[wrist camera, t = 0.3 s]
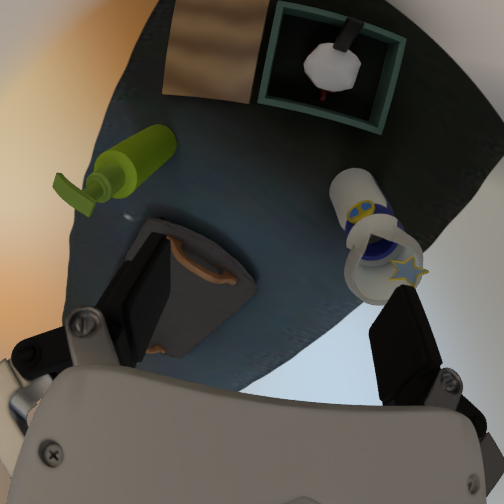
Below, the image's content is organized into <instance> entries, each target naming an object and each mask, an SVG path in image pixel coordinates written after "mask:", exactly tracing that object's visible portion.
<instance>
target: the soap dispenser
mask: <svg viewBox="0 0 504 504" xmlns="http://www.w3.org/2000/svg"><path fill="white" fill-rule="evenodd" d="M176 147H177V141H176V137H175V135H174V133H173V132H172V130H171V129H169V128H168V127H166V126H164V125H160V124H157V125H152V126H150V127H148V128H146V129H144V130H142V131H140V132H138V133H137V134H135V135H133V136H131V137H129V138H128V139H126V140H124V141H122V142H120V143H119V144H117V145H115V146H114V147H112V148H110V149H109V150H107V151H105V152H104V153H102V154H101V155H100V156H99V157H98V158H97V160H96V162H95V165H94V172H93V173H92V174H91V175H89V177H88V178H87V180H86V188H85V189H84V190H83V191H82V190H80V189H79V188H77V187H76V186H75V185H73V184H72V183H71V182H70V181H68V180H67V179H66V178H65V177H64V175H63V174H62V173H56V176H55V180H54V183H53V188H54V189H55V191H56V192H57V194H58V195H59V196H60V197H61V198H62V199H63V200H64V201H66V202H67V203H68V204H69V205H71V206H72V207H73V208H75V209H76V210H78V211H79V212H81V213H82V214H84V215H86V216H87V217H90V216H91V215H92V213H93V210H94V208H95V205H96V203H97V202H100V203H103V202H106V201H108V200H109V199H110V198H111V197H113V198H118V199H120V198H125V197H127V196H129V195H130V194H131V193H132V192H134V191H135V190H136V189H137V188H138V187H139V186H140V185H141V184H142V183H143V182H144V181H145V180H146V179H147V178H148V177H149V176H150V175H152V174H153V173H154V172H155V171H156V170H157V169H158V168H159V167H160V166H162V165H163V164H164V163H165V162H166V161H167V160H168V159H169V158H171V157H172V156H173V154H174V153H175V151H176Z"/></svg>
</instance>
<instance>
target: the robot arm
mask: <svg viewBox="0 0 504 504" xmlns="http://www.w3.org/2000/svg"><path fill="white" fill-rule="evenodd" d="M170 291H171V241H170V239H167V236H166V235H165V234H161V233H156V232H151V233H150V235H149V236H148V238H147V239H146V240H145V242H144V243H143V245H142V246H141V248H140V249H139V251H138V252H137V253H136V255H135V256H134V258H133V259H132V261H130V260H127V261H125V262H124V263H123V265H122V266H121V268H120V269H119V271H118V272H117V273H116V275H115V276H114V278H113V279H112V281H111V283H110V284H109V286H108V287H107V289H106V290H105V292H104V293H103V295H102V296H101V298H100V300H99V301H98V303H97V304H96V306H95V307H93V306H80V307H78V308H75V309H74V310H72V311H71V312H70V313H69V314H68V316H67V318H66V320H65V326H62V327H59V328H56V329H53V330H51V331H48V332H45V333H42V334H39V335H36V336H33V337H30V338H27V339H24V340H22V341H20V342H19V343H18V344H17V345H16V346H15V347H14V349H13V351H12V355H11V358H10V359H9V360H7V359H6V358H5V359H3V360H2V361H1V362H0V462H1V463H2V465H3V467H4V469H5V470H6V472H7V473H8V475H9V476H10V478H11V484H10V488H9V493H8V497H7V503H6V504H486V497H487V496H488V495H489V493H490V492H491V490H492V489H493V488H494V486H495V485H496V483H497V482H498V481H499V479H500V478H501V476H502V475H503V473H504V457H503V456H502V453H501V452H500V450H499V448H498V446H497V445H496V443H495V441H494V440H493V438H492V436H491V435H490V433H489V432H488V433H486V430H487V422H486V419H485V417H484V415H483V414H482V413H481V412H480V411H479V410H478V409H477V408H476V407H475V406H474V405H473V404H472V403H471V402H470V401H469V400H467V399H466V398H465V397H464V396H463V395H462V390H463V383H462V380H461V378H460V376H459V375H458V374H457V372H455V371H454V370H453V369H450V368H443V369H441V368H440V365H441V364H442V363H443V362H442V359H441V356H440V353H439V350H438V347H437V344H436V342H435V338H434V336H433V333H432V330H431V327H430V324H429V322H428V319H427V317H426V314H425V311H424V309H423V306H422V304H421V301H420V299H419V297H418V294H417V292H416V289H415V288H414V287H413V286H409V285H404V284H401V285H400V286H399V287H396V288H395V290H394V292H393V293H392V295H391V296H390V298H389V300H388V301H387V303H386V304H385V306H384V308H383V309H382V311H381V312H380V314H379V315H378V317H377V318H376V320H375V321H374V323H373V324H372V326H371V327H370V329H369V339H370V344H371V350H372V355H373V361H374V367H375V373H376V379H377V385H378V392H379V398H380V400H381V401H382V403H383V406H366V405H343V404H329V403H316V402H306V401H296V400H288V399H280V398H272V397H266V396H259V395H252V394H247V393H241V392H236V391H230V390H225V389H220V388H215V387H210V386H206V385H201V384H197V383H192V382H188V381H184V380H179V379H175V378H171V377H167V376H163V375H160V374H156V373H152V372H148V371H143V370H139V369H135V366H136V364H137V362H140V363H141V362H142V360H143V358H144V355H145V353H146V350H147V348H148V345H149V343H150V341H151V338H152V336H153V333H154V331H155V329H156V326H157V324H158V322H159V319H160V317H161V315H162V312H163V310H164V308H165V305H166V303H167V301H168V299H169V296H170ZM127 366H128V367H127ZM41 398H42V399H41ZM40 399H41V401H40V403H39V405H38V407H37V409H36V411H35V413H34V416H33V418H32V421H31V423H30V425H29V427H28V424H27V416H28V413H29V411H30V410H31V409H32V408H33V407H35V406H36V405H37V403H36V402H37V401H38V400H40Z"/></svg>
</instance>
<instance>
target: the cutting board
mask: <svg viewBox="0 0 504 504" xmlns="http://www.w3.org/2000/svg"><path fill="white" fill-rule="evenodd" d="M269 6H270V0H176V3H175V8H174V14H173V19H172V25H171V30H170V37H169V43H168V50H167V57H166V64H165V72H164V81H163V90H162V94H167V95H181V96H192V97H202V98H211V99H219V100H226V101H233V102H240V103H246V104H249V103H250V102H251V97H252V92H253V86H254V81H255V75H256V70H257V65H258V60H259V55H260V50H261V45H262V40H263V35H264V30H265V25H266V20H267V15H268V10H269Z"/></svg>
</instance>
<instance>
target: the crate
mask: <svg viewBox="0 0 504 504" xmlns="http://www.w3.org/2000/svg"><path fill="white" fill-rule="evenodd" d="M284 14H287V15H292V16H297V17H302V18H306V19H310V20H315V21H319V22H323V23H327V24H330V25H334V26H337V27H341V28H342V26H343V24H344V22H345V20H346V18H347V16H343V15H340V14H337V13H333V12H329V11H326V10H322V9H318V8H313V7H309V6H305V5H300V4H295V3H290V2H284V1H278V2H277V7H276V11H275V16H274V21H273V26H272V31H271V35H270V40H269V45H268V50H267V55H266V60H265V65H264V70H263V76H262V81H261V86H260V91H259V97H258V102H257V103H260V104H265V105H270V106H275V107H280V108H285V109H290V110H294V111H298V112H303V113H307V114H311V115H315V116H319V117H323V118H326V119H330V120H334V121H337V122H341V123H344V124H348V125H351V126H354V127H357V128H361V129H364V130H367V131H370V132H373V133H376V134H379V135H382V132H383V128H384V125H385V121H386V118H387V115H388V111H389V108H390V104H391V101H392V97H393V93H394V89H395V86H396V82H397V78H398V74H399V70H400V66H401V61H402V57H403V53H404V48H405V44H406V38H403V37H401V36H399V35H396V34H394V33H392V32H389V31H387V30H384V29H382V28H379V27H376V26H374V25H371V24H368V23H365V22H364V23H365V24H364V26H363V27H362V29H361V30H360V32H359V33H360V34H363V35H366V36H369V37H371V38H374V39H377V40H379V41H382V42H385V43H387V44H388V46H387V51H386V55H385V60H384V64H383V68H382V72H381V76H380V80H379V84H378V88H377V92H376V95H375V99H374V103H373V106H372V110H371V114H370V117H369V121H366V120H363V119H360V118H357V117H354V116H350V115H347V114H344V113H340V112H337V111H333V110H330V109H326V108H322V107H318V106H314V105H310V104H306V103H302V102H298V101H293V100H289V99H284V98H279V97H274V96H269V95H267V94H268V89H269V84H270V79H271V74H272V69H273V64H274V59H275V55H276V50H277V45H278V40H279V35H280V30H281V25H282V21H283V16H284Z"/></svg>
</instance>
